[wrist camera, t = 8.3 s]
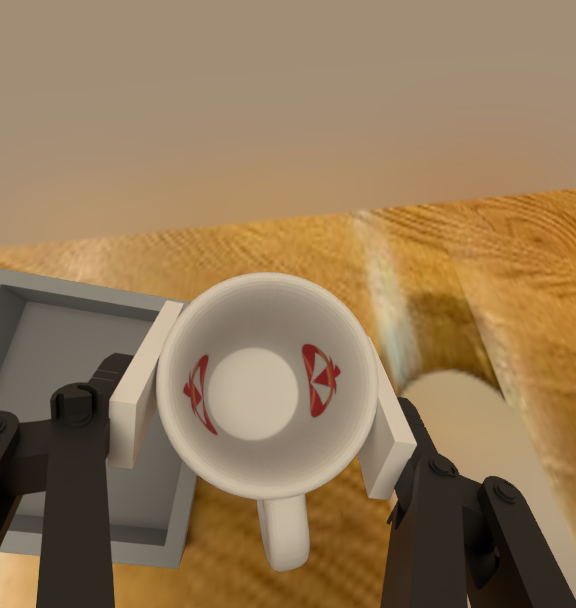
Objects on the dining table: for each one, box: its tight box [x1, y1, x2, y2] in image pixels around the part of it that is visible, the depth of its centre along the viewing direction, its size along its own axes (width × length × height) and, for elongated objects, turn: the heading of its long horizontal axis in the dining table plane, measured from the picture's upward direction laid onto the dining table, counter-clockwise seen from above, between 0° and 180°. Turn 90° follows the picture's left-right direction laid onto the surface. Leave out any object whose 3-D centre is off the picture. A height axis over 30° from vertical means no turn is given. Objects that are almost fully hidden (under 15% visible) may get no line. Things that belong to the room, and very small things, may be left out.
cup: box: [156, 272, 379, 572], centre depth 16 cm, size 11×8×8 cm
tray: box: [0, 269, 198, 569], centre depth 29 cm, size 18×18×4 cm
